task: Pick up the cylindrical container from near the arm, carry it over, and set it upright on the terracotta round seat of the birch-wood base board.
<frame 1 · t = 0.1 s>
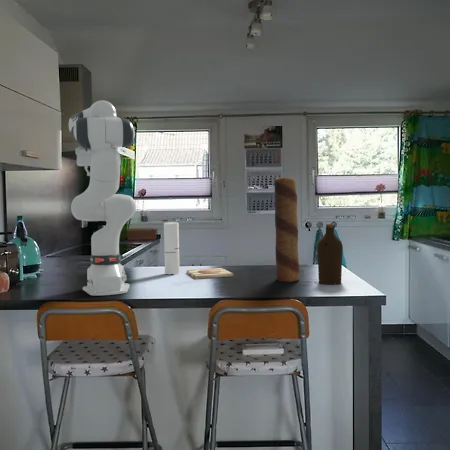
hand: (99, 175, 221), 48 cm above the countertop, fingers open, 8 cm apart
wafer roll: (286, 280, 208), on the countertop
seat board: (209, 274, 225), on the countertop
cylindrical container: (172, 274, 229), on the countertop
olive oil: (330, 283, 200), on the countertop
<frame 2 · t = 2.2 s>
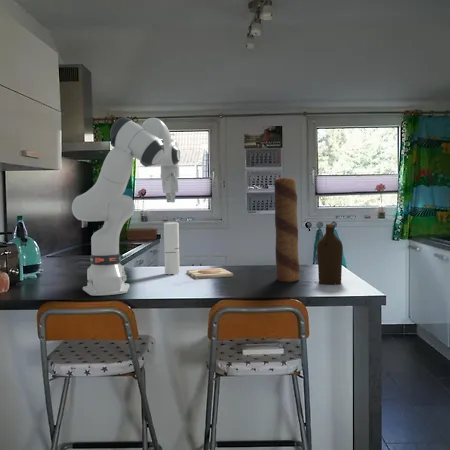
hand: (170, 202, 227), 35 cm above the countertop, fingers open, 8 cm apart
nothing on the countertop moved.
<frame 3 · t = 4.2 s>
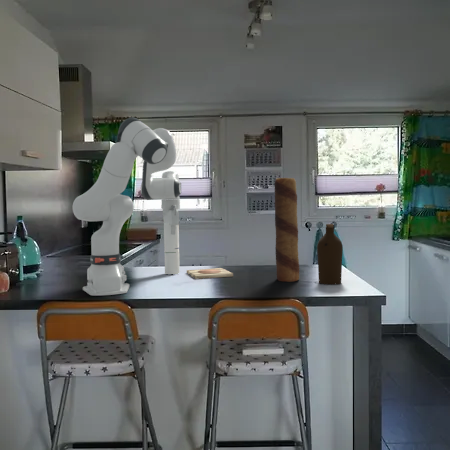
hand: (171, 233, 228), 20 cm above the countertop, fingers closed on cylindrical container, 7 cm apart
cylindrical container: (172, 274, 229), on the countertop, touching gripper
everything else where it was.
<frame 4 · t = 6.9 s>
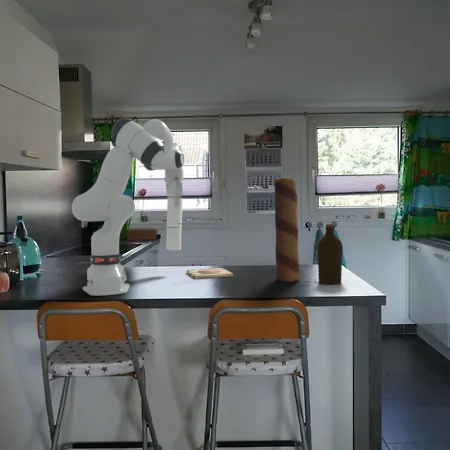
hand: (174, 206, 227), 33 cm above the countertop, fingers closed on cylindrical container, 7 cm apart
cylindrical container: (173, 249, 228), point 12 cm above the countertop, touching gripper
everything else where it was.
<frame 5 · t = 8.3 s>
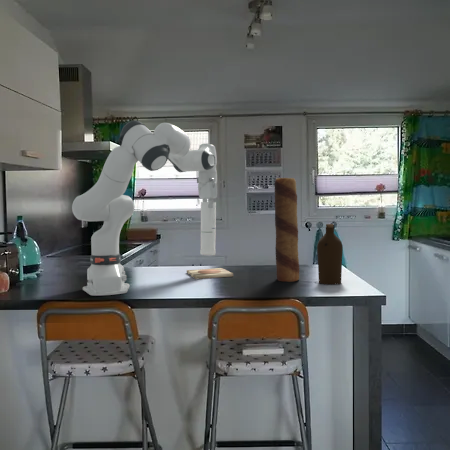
hand: (208, 208, 223), 32 cm above the countertop, fingers closed on cylindrical container, 7 cm apart
cylindrical container: (207, 254, 224), point 10 cm above the countertop, touching gripper
everything else where it was.
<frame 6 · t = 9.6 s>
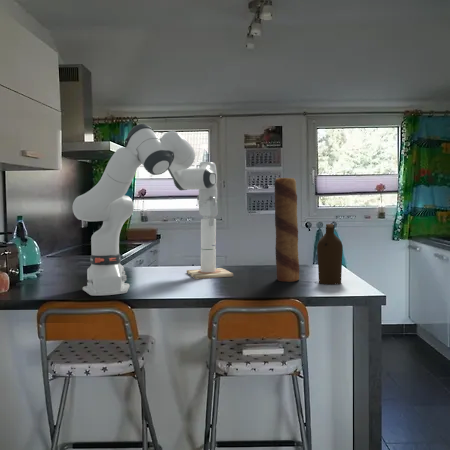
hand: (208, 225, 223), 24 cm above the countertop, fingers closed on cylindrical container, 7 cm apart
cylindrical container: (208, 271, 224), point 2 cm above the countertop, touching gripper, seat board
everything else where it was.
when the fingers open (23 cm above the countertop, at t = 10.9 s): cylindrical container stays where it is, resting on seat board.
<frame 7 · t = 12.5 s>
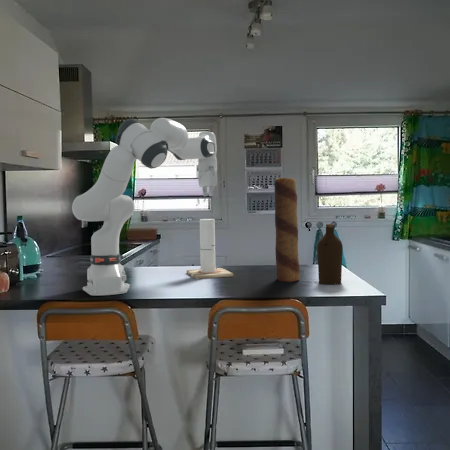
hand: (208, 196, 223), 38 cm above the countertop, fingers open, 8 cm apart
cylindrical container: (208, 271, 224), point 2 cm above the countertop, touching seat board
everything else where it was.
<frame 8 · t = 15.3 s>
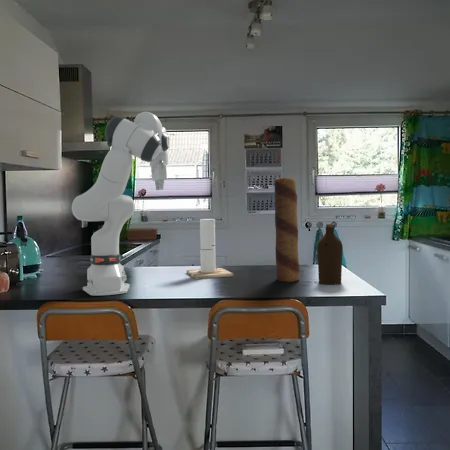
hand: (159, 189, 227), 41 cm above the countertop, fingers open, 8 cm apart
nothing on the countertop moved.
at the end: cylindrical container inside the target area on the seat board (0.7 cm from its centre), point 1.5 cm above the seat board's base; cylindrical container tilted 0°; the gripper is holding nothing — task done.
